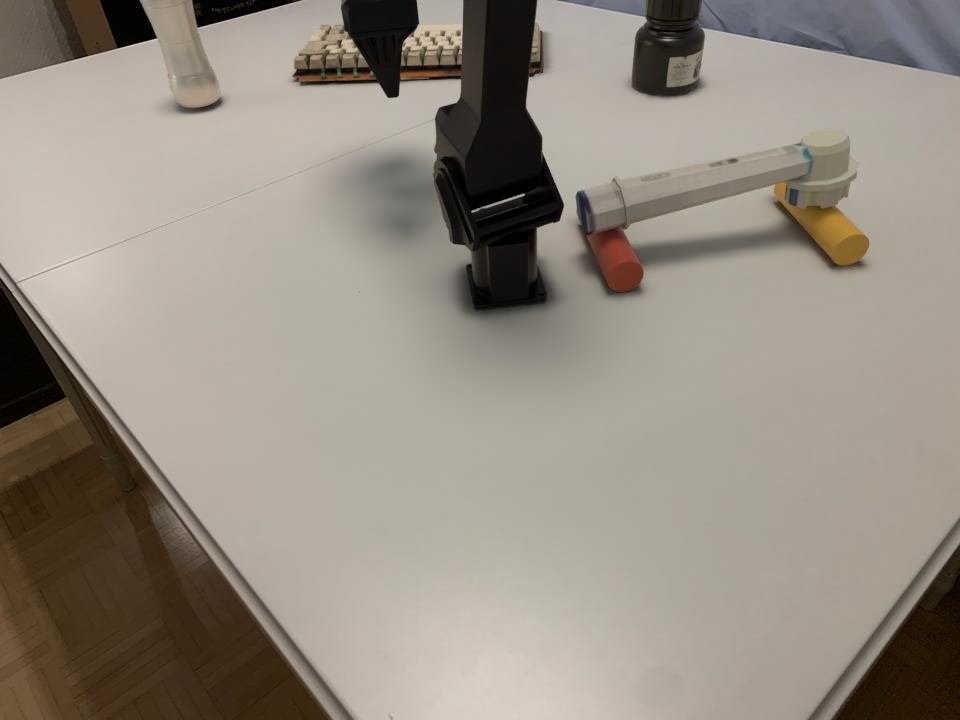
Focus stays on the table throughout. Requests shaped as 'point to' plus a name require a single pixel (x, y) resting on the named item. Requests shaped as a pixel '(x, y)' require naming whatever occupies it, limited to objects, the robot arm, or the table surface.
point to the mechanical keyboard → (421, 54)
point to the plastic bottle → (183, 52)
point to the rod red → (616, 259)
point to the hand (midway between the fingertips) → (392, 79)
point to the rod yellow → (829, 230)
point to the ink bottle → (668, 47)
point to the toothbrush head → (726, 182)
